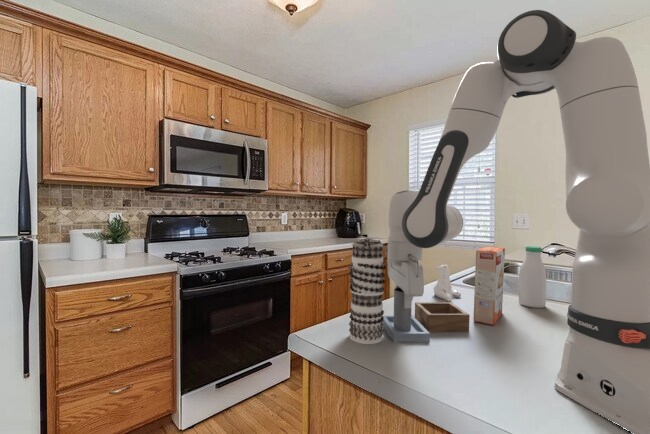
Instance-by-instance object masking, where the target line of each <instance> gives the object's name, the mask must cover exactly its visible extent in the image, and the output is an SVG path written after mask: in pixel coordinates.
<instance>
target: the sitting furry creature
mask: <svg viewBox="0 0 650 434" xmlns="http://www.w3.org/2000/svg"><path fill="white" fill-rule="evenodd" d="M435 268H436V271H437V272H438V274H439V277H438V278H437V281H436V284H435V285H434V286H433V292H434V295H435V296H436V298H439V297H440V298H439V299H441V298H442V299H441V300H444V301H446V302H451V301H452V300H453V299H454V298H458V297H462V292H461V291H459V290H456V289H452V283H451V278H450V276H451V271H450V268H449V267H448V264H446V263H445V264H441V265H439V266H436V267H435ZM453 297H454V298H453Z"/></svg>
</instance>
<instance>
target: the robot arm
mask: <svg viewBox="0 0 650 434" xmlns="http://www.w3.org/2000/svg"><path fill="white" fill-rule="evenodd" d="M576 38H577V32H576V31H575V30H574V29H572V28H571V27H570V26H569V25H567V24H566V23H565V22H563V21H562V20H561V19H560V18H558V16H556V15H554V14H553V13H551V12H548V11H546V10H544V9H543V10H542V9H534V10H529V11H525V12H522V13H521V14H519V15H517V16H515V17H514V18H513V19H512V20H511V21H509V22H508V23H507V24H506V26H504V29H503V30H502V32H501V33H500V36H499V39H498V41H497V45H496V47H497V49H496V51H497V53H496V54H497V58H498V60H496V61H495V60H494V61H492V62H491V61H487V62H480V63H476V64H475V65H472V66H471V67H469V69H468V70H467V71H466V72H465V73H464V76H463V77H462V80H461V81H460V84H459V86H458V88H457V90H456V93H455V95H454V97H453V100H452V102H451V106H450V109H449V111H448V115H447V118H446V121H445V124H444V127H443V131H442V134H441V136H440V138H439V141H438V144H437V146H436V148H435V150H434V152H433V155H432V157H431V160H430V161H429V162H430V163H429V166H428V168H427V170H426V172H425V176H424V178H423V181H422V184H421V186H420V189H419V190H418V189H409V190H408V189H407V190H401V191H397V192H396V193H393V195H392V196H391V199H390V202H389V203H390V204H389V207H388V209H389V210H388V227H389V235H388V239H387V246H386V247H385V255H387V258H386V262H387V265H386V266H387V274H388V275H387V276H388V278H389V279H390V280H391V281H392V283H394V285H395V286H394V289H395V288H401V289H402V290H403V291H404V295H405V296H404V300H403V306H404V307H405V308H411V309H412V306H411V303H413V299H414V297H423V296H424V293H425V280H424V279H425V277H424V275H425V274H424V267H423V265H422V264H421V263H419V261H422V260H423V249H430V248H434V247H436V246H438V245H440V244H442V243H443V244H444V243H446V242H448V241H451V240H453V239H455V238H457V237H458V236H459V235H460V233H461V232H462V230H463V228H464V227H463V226H464V218H463V215H462V214H461V212H460V210H459V209H457V208H456V206H453V205H450V204H449V203H448V202H449V200H450V198H451V194H452V192H453V189H454V187H455V184H456V182H457V179H458V176H459V174H460V172H461V170H462V168H463V167H464V165H465V164H466V163H467V162H469V160H471V159H472V158H474V157H475V156H476V155H479V154H480V153H482V152H483V151H485V150H487V148H488V147H489V146H490V144H491V142H492V141H493V138H494V137H495V134H496V133H497V131H498V127H499V125H500V122H501V119H502V116H503V114H504V110H505V108H506V104H507V103H508V100H509V99H510V98H511V97H513V98H515V99H516V98H517V99H518V98H524V97H528V96H535V95H537V96H538V95H542V94H546V93H549V92H552V91H553V90H554V89H555V90H556V94H557V96H558V97H557V98H558V104H559V112H560V113H559V114H560V118H561V126H562V132H563V133H562V134H563V139H564V146H565V147H564V148H565V196H566V200H565V209H566V214H567V216H568V218H569V220H571V222H572V224H573V225H575V226H576V228H578V229H579V234H578V239H577V246H576V251H575V254H574V258H573V259H574V260H573V263H572V267H571V268H572V271H571V273H572V274H571V295H570V296H571V299H570V305H568V309H567V312H566V317H567V325H568V326H569V331H568V334H567V337H566V340H565V343H564V347H563V352H562V358H561V363H560V364H561V365H560V368H559V371H558V374H557V379H556V380H555V383H554V389H555V390H556V391H558V392H559V393H562V394H563V395H565V396H566V397H568V398H569V399H572V400H573V401H575V402H576V403H578V404H580V405H581V406H583V407H585V408H587V409H588V410H590V411H592V412H594V413H595V412H596V413H595V414H597V413H598V414H597V415H599V416H600V415H601V416H600V417H602V416H603V417H602V418H604V417H605V418H607V419H609V420H611V421H613V422H615V423H617V424H619V425H620V426H622V427H624V428H626V429H627V430H629V431H630V432H632V433H634V434H650V158H649V157H650V155H649V148H648V140H647V136H648V135H647V129H646V123H645V118H644V112H643V106H642V101H641V95H640V90H639V83H638V78H637V75H636V71H635V68H634V64H633V62H632V59H631V58H630V55H629V53H628V51H627V49H626V47H625V45H624V43H623V42H622V41H621V40H619V38H617V37H616V38H615V37H612V36H611V37H610V36H601V37H595V38H592V39H588V40H585V41H580V42H579V41H577V40H576ZM605 418H604V419H605ZM607 419H606V420H607ZM609 420H608V421H609Z"/></svg>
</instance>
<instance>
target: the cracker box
mask: <svg viewBox="0 0 650 434" xmlns="http://www.w3.org/2000/svg"><path fill="white" fill-rule="evenodd" d="M505 252H506V248H505V247H499V246H483V247H482V248H479V249H477V250H475V269H474V273H475V275H474V295H473V296H474V300H473V322H477V323H482V324H486V325H490V326H495V325H496V323H497V322H498V320H499V318H501V315H502V314H503V302H504V301H503V300H504V278H505V277H504V274H505V256H506V255H505V254H506V253H505Z"/></svg>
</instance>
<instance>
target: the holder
mask: <svg viewBox="0 0 650 434" xmlns="http://www.w3.org/2000/svg"><path fill="white" fill-rule="evenodd" d="M414 317H415V318H416V319H417V320H418V322H419V323H420V324H421V325H422V326H423V327H424V328H425V329H426V330H427V331H428V332H429V333H434V332H437V333H441V332H443V333H444V332H448V333H449V332H457V333H458V332H463V333H464V332H470V314H469V313H467V312H466V311H465V310H463V309H462V308H460V307H459V306H457V305H456V304H454V303H453V302H451V301H446V302H443V301H442V302H441V301H439V302H438V301H437V302H436V301H435V302H433V301H431V302H424V301H423V302H415V303H414Z"/></svg>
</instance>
